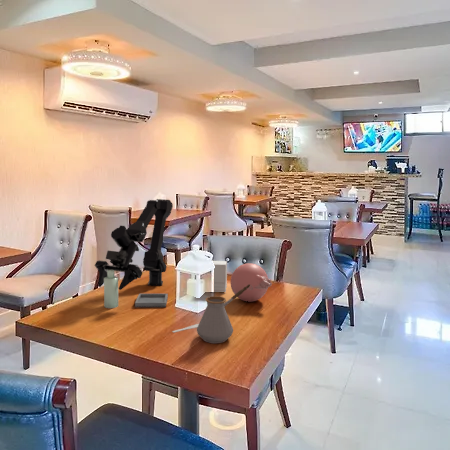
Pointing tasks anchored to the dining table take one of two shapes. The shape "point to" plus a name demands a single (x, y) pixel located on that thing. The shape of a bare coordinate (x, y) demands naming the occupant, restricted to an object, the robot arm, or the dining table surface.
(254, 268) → the pomegranate
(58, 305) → the dining table surface
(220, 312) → the coffee pot
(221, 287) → the supplement box
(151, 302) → the slate tray
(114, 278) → the glass bottle
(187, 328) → the butter knife
